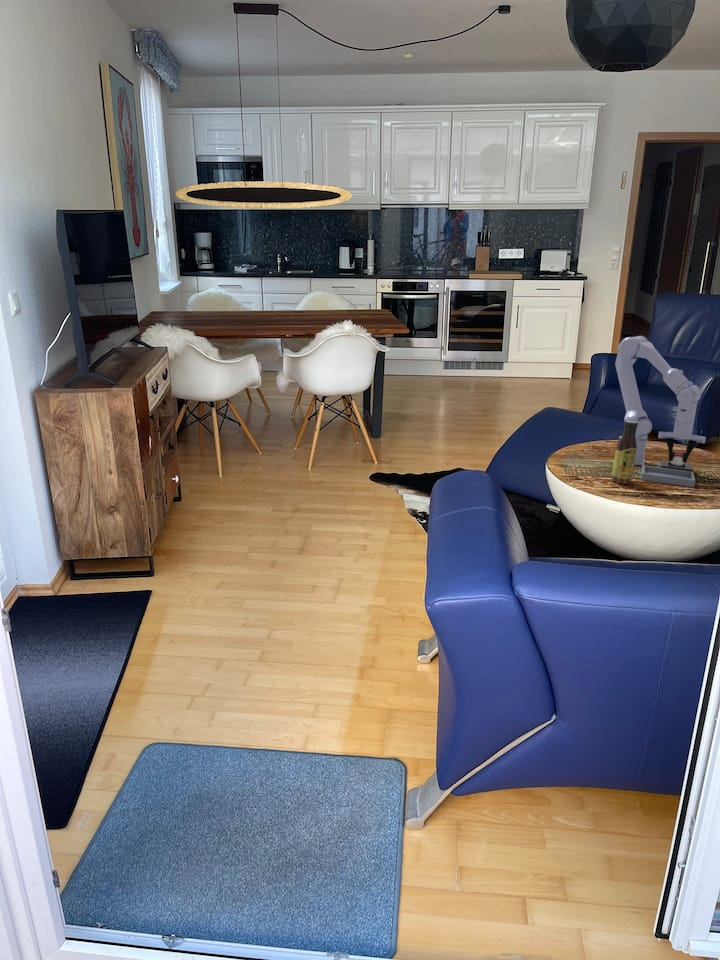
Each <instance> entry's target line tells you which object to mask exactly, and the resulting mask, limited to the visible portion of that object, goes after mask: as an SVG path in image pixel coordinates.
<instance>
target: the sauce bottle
mask: <svg viewBox="0 0 720 960" xmlns="http://www.w3.org/2000/svg"><path fill="white" fill-rule="evenodd" d="M623 422H624V423H623V432H622V435H621V436H622V437H621V438H620V437H619V439H618V441H617V444H616V448H615V451H614V453H615V454H614V458H613V459H614V460H613V463H612V464H613V465H612V469H611V478H610V480H611V481H612V482H614V483H616V484H622V485H623V484H624V485H626V484H627V485H628V484H630V483H631V482H632V478H633V473H634V468H635V465H634V463H635V458H636V452H637V444H636V437H635V435H636V429H637V427H638V422H636V421H628V420H627V421H623Z"/></svg>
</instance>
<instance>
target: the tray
mask: <svg viewBox="0 0 720 960" xmlns="http://www.w3.org/2000/svg"><path fill="white" fill-rule="evenodd" d="M695 477H696V476H695V474H694V471H693V472H690V471H683V470H675V469H667V468H660V466H653V465H652V466H650V465H641V470H640V480H641V481H646V482H652V483H653V482H655V483H661V484H668V485H674V486H675V485H676V486H683V487H691V488H694V487H695V484H696V478H695Z"/></svg>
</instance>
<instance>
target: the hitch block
mask: <svg viewBox="0 0 720 960" xmlns="http://www.w3.org/2000/svg"><path fill="white" fill-rule="evenodd" d="M659 463H660V464H659V467H660V468H667V469H675V470H683V471H690V472H694V466H693V463H687V462H686V463H685V462H684V463H683V467H675V466H670V464H671V461H669V460H663V459H661V460H660V462H659Z"/></svg>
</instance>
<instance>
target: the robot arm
mask: <svg viewBox="0 0 720 960" xmlns="http://www.w3.org/2000/svg"><path fill="white" fill-rule="evenodd" d="M617 349H618V351H617V355H616V359H615V369H616V373H617V377H618V381H619V386H620V391H621V395H622V398H623V399H622V400H623V403H624V408H625V412H626V413H625V416H624V419H623V420H624V421H623V422H625V421H627V420H628V421H636V422H638V427H637V429H636V435H635V437H636V444H637V452H636V458H635V463H634V466H642V465H644V466H646V465H645V464H646V463H645V462H646V461H645V455H646V449H647V443H648V438H649V437H648V434H650V433H651V431H652V429H653V423H652V422H651V420H650V419H649V418H648V414H647V412H646V411H645V410H644V409H643V406H642V402H641V397H640V393H639V388H638V384H637V379H636V376H635V372H634V368H633V365H634V364H635V363H636V361H637V359H638V358H641V359H646V360H647V361H648V362H649V363H650V364H651V365H652V366H653V367H654V368H655V369H657V371H658V372H660V374H662V380H663V382H664V383H665V384H666V385H667V386H668V387H669V388H670V389H671V390H672V392H674V394H675V395H676V400H677V402H678V404H677V405H678V406H677V408H676V409H677V410H676V415H675V420H674V425H673V426H674V427H673V431H658V436H657V437H658V439H665V442H666V445H667V446H666V447H667V449H668V461H671V459H672V452H673V451H674V445H675V440H677V441H683V442H684V441H685V442H687V443H686V447H685V449H686V450H685V458H684V463H687V461H688V459H689V456H690V455H691V453H692V451H693V450H694V449H695V447H696V446H697V443H701V444H705V443H706V441H707V440H706V436H701V435H696V434H692V433H693V429H694V428H693V427H694V423H695V419H696V418H695V417H696V412H697V406H698V401H699V400H700V399H701V397H702V391H701V389H700V386H698V385H695V384H694V383H693V382H692V381H689V380H688V378H687V377H686V376H685V375H684V371H683V370H682V369H679V368H672V367H671V365H669V363H668V362H667V361H666V360H665V358H664V357H663V356H662V355H661V354H660V352H659V351H658V350H657V349H656V348H655V346H654V345H653V343H652V342H651V341H649V340H648V338H646V336H643V335H637V336H628V337H624V338H623V339H622V340H621V342H620V343H619V344H618V346H617ZM621 437H622V435H620V436H619V439H620V438H621Z"/></svg>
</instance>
